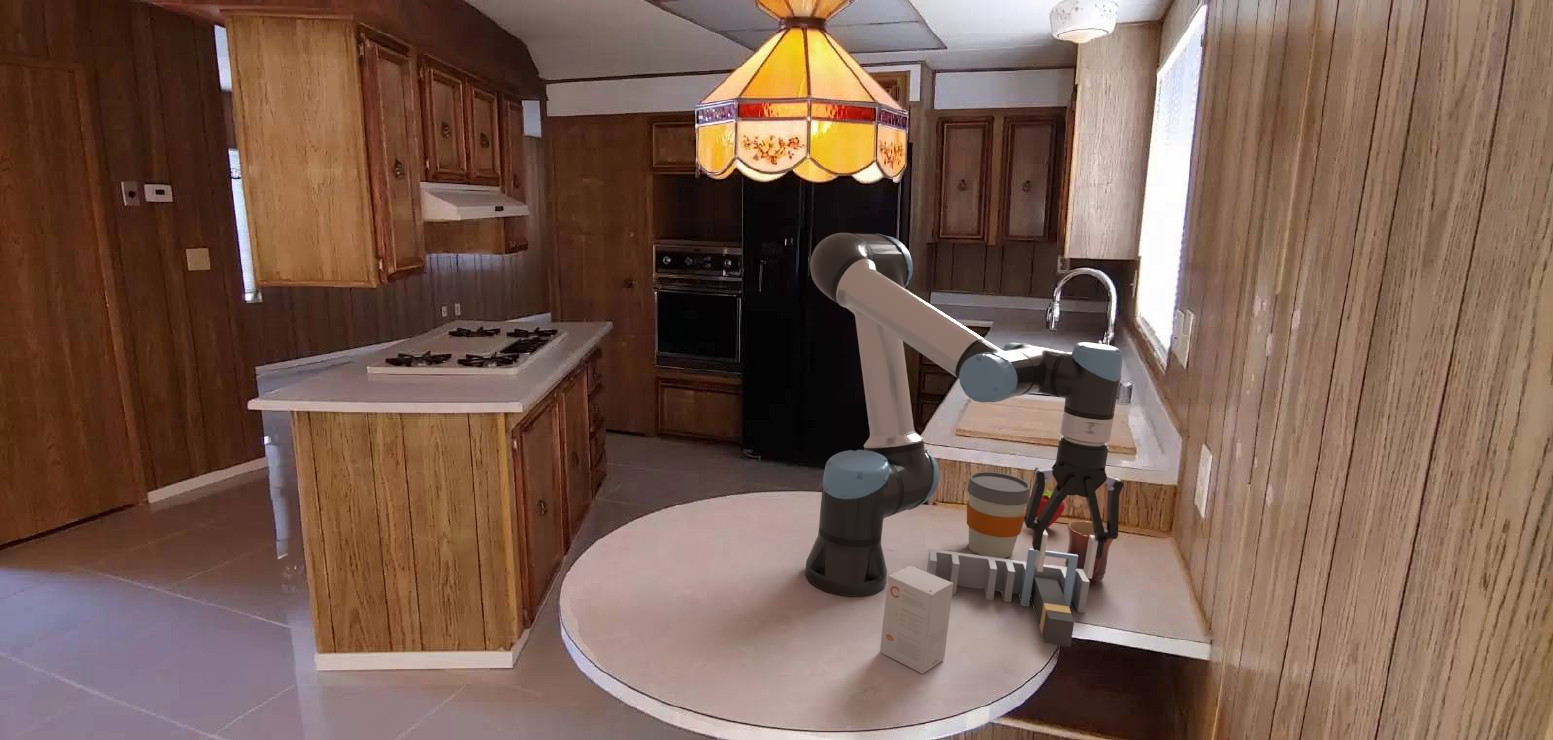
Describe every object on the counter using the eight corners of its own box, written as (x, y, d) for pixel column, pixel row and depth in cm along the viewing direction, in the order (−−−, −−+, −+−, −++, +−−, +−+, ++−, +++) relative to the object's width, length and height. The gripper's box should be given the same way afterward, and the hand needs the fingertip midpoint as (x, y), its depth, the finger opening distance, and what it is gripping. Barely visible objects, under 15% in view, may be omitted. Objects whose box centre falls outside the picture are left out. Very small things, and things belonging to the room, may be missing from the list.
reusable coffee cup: (1025, 566, 161) (1036, 495, 158) (962, 557, 162) (971, 487, 159) (1016, 541, 173) (1026, 475, 170) (958, 533, 175) (966, 468, 172)
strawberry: (1023, 522, 184) (1029, 481, 182) (1053, 522, 186) (1059, 481, 184) (1035, 532, 179) (1042, 490, 177) (1066, 532, 180) (1073, 490, 178)
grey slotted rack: (926, 590, 146) (930, 560, 145) (925, 578, 152) (929, 548, 150) (1084, 613, 143) (1089, 582, 142) (1078, 599, 148) (1083, 569, 147)
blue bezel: (1020, 605, 144) (1029, 549, 142) (1020, 604, 144) (1028, 548, 142) (1069, 612, 143) (1078, 556, 140) (1068, 610, 143) (1077, 554, 141)
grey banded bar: (1044, 643, 131) (1048, 617, 130) (1030, 598, 147) (1033, 575, 146) (1070, 647, 131) (1074, 621, 130) (1053, 601, 146) (1056, 578, 145)
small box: (944, 660, 124) (955, 582, 121) (922, 675, 119) (932, 595, 117) (901, 638, 129) (910, 564, 127) (878, 652, 125) (887, 575, 122)
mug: (1057, 565, 162) (1064, 518, 160) (1102, 572, 161) (1110, 524, 159) (1066, 592, 151) (1074, 541, 149) (1114, 599, 149) (1123, 548, 147)
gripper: (1023, 438, 126) (1004, 572, 131) (1157, 453, 123) (1132, 590, 128) (1017, 426, 133) (998, 554, 138) (1142, 440, 131) (1119, 570, 135)
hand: (1063, 571), depth 133 cm, fingers open, 7 cm apart
